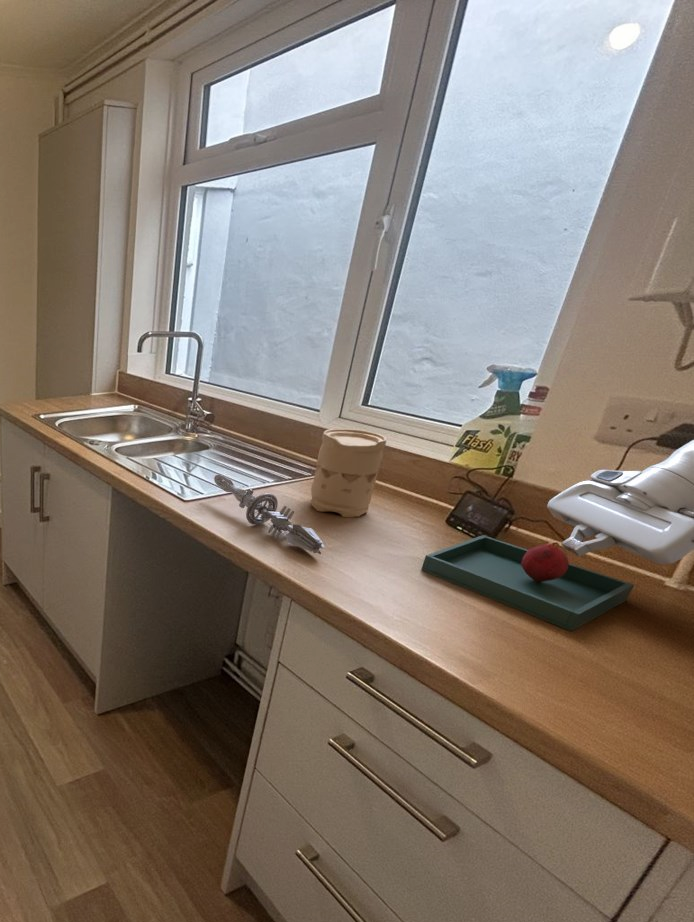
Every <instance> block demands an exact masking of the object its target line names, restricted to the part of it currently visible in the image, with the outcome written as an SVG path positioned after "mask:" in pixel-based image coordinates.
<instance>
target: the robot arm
mask: <svg viewBox="0 0 694 922" xmlns="http://www.w3.org/2000/svg"><path fill="white" fill-rule="evenodd" d="M590 479H591V480H583V481H579V482H578V483H575V484H573V485H571V486H570V487H568V488H566V489H564V490H563V491H561V492H560V493H558V494H557V495H555V496H554V497H552V498H551V499H550V500H549V501H548V503H547V505H546V508H547V509H548V511H549V512H550V514H551V515H552V516H553V518H555V519H557V520H560V521H562V522H564V523H566V524H568V525H570V526H572V527H573V530H572V532H571V534H570V536H569V537H567V539H565V540H563V541H562V542H561V544H560V545H561V546H562V548H563V549H565V550H567V551H569V552H570V553H573V555H576V556H578V557H583V556H586V554H589V553H590V552H595V551H601V550H607V549H609V548H611V547H613V546H616V547H619V548H621V549H623V550H626V551H628V552H630V553H632V554H634V555H636V556H639V557H641V558H642V559H645V560H648V561H649V562H652V563H654V564H656V565H659V566H662V565H663V566H664V565H665V566H666V565H673V564H675V563H676V562H678V561H680V560H681V559H683V558H684V557H686V556H687V555H689V554H690V553H692V551H694V439H692V440H690V441H689V442H687V443H685V444H684V445H682V446H681V447H679V448H677V449H675V450H674V451H673V452H672V453H671V454H670V455H669V456H668V457H667V458H666V459H665V460H663V461H661V462H659V463H656V464H653V465H650V466H648V467H647V468H645V469H644V470H642V471H641V470H612V469H599V470H596V471H595V472H593V473H592V474H591V475H590ZM593 536H594V537H595V538H594V539H590V538H591V537H593ZM584 538H585V539H590V540H587V541H583V540H584Z"/></svg>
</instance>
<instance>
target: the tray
mask: <svg viewBox="0 0 694 922" xmlns="http://www.w3.org/2000/svg"><path fill="white" fill-rule="evenodd" d="M528 550H529V549H526V548H524V547H521V546H518V545H515V544H511V543H509V542H505V541H502V540H500V539H496V538H493V537H490V536H487V535H484V534H483V535H479V536H476V537H474V538H470V539H468V540H465V541H463V542H460V543H457V544H454V545H451V546H449V547H445V548H442V549H440V550H437V551H434V552H431V553H429V554H426V555H425V557H424V560H423V563H422V566H421V571H423V572H426V573H427V574H429V575H432V576H435V577H438V578H440V579H443V580H445V581H447V582H449V583H453V584H454V585H458V586H460V587H462V588H463V589H464V588H465V589H467V590H469V591H472V592H474V593H477V594H478V595H482V596H484V597H487V598H488V599H491V600H493V601H495V602H498V603H501V604H503V605H506V606H508V607H511V608H513V609H515V610H518V611H521V612H523V613H526V614H528V615H530V616H533V617H535V618H538V619H540V620H543V621H545V622H547V623H549V624H551V625H555V626H557V627H559V628H562V629H564V630H567V631H569V632H572V631H574V630H576V629H577V628H579V627H581V626H584V625H585V624H587V623H588V622H590V621H592V620H594V619H595V618H598V617H599V616H602V615H603V614H605V613H606V612H609V611H610V610H612V609H614V608H616V607H617V606H619V605H621V604H623V603H624V602H627V600H628V597H629V596H630V594H631V592H632V590H633V588H634V587H635V584H633V583H630V582H627V581H624V580H621V579H618V578H615V577H612V576H609V575H606V574H603V573H600V572H597V571H595V570H590V569H588V568H584V567H582V566H578V565H576V564H572V563H570V562H569V565H568V569H567V571H566V573H565V574H564V575H563V576H561V577H559V578H557V579H554V580H549V581H544V582H536V581H534V580H533V579H532V578H530V577H529V576H528V575H527V574H526V572H525V571H524V570H523V568H522V564H521V562H522V558H523V557H524V555H525V553H526V552H527V551H528Z"/></svg>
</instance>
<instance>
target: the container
mask: <svg viewBox="0 0 694 922" xmlns="http://www.w3.org/2000/svg"><path fill="white" fill-rule="evenodd" d="M387 439H388V438H387V437H386V436H384V435H382V434H380V433H377V432H372V431H368V430H362V429H353V428H329V429H326V430H324V431H323V433H322V437H321V441H322V442H321V445H320V448H319V451H318V455H317V460H316V467H315V471H314V476H313V481H312V484H311V487H310V488H311V489H310V495H311V500H310V504H311V505H312V507H313V508H314V509H315V510H316V511H317V512H320V513H327V512H330V513H331V512H334V513H337V514H340V515H341V517H343V518H356V517H357V518H359V517H360V516H362V515H364V514H365V513H367V512H368V511H369V508H370V504H371V500H372V497H373V494H374V490H375V485H376V482H377V477H378V474H379V470H380V466H381V462H382V459H383V456H384V451H383V450H384V449H385V447H386V445H387V444H386V443H387Z"/></svg>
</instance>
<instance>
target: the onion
mask: <svg viewBox="0 0 694 922" xmlns="http://www.w3.org/2000/svg"><path fill="white" fill-rule="evenodd" d="M559 546H560V543H559V542H558V541H556V540H551V541H549V542H548V543H545V544H542V545H541V544H540V545H537V546H534V547H531V548H530V549H527V550H528V551H527V552H526V553H525V555H524V557H523V558H522V562H521V564H522V568H523V570H524V571H525V572H526V574H527V575H528V576H529V577H530V578H532V579H533V580H534V581H536V582H544V581H549V580H554V579H557V578H559V577H561V576H563V575H564V574H565V573H566V571H567V569H568V565H569V563H570V561H569V558H568V556H567V555H566V553H565V551H563V550H562V549H561V548H559Z"/></svg>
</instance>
